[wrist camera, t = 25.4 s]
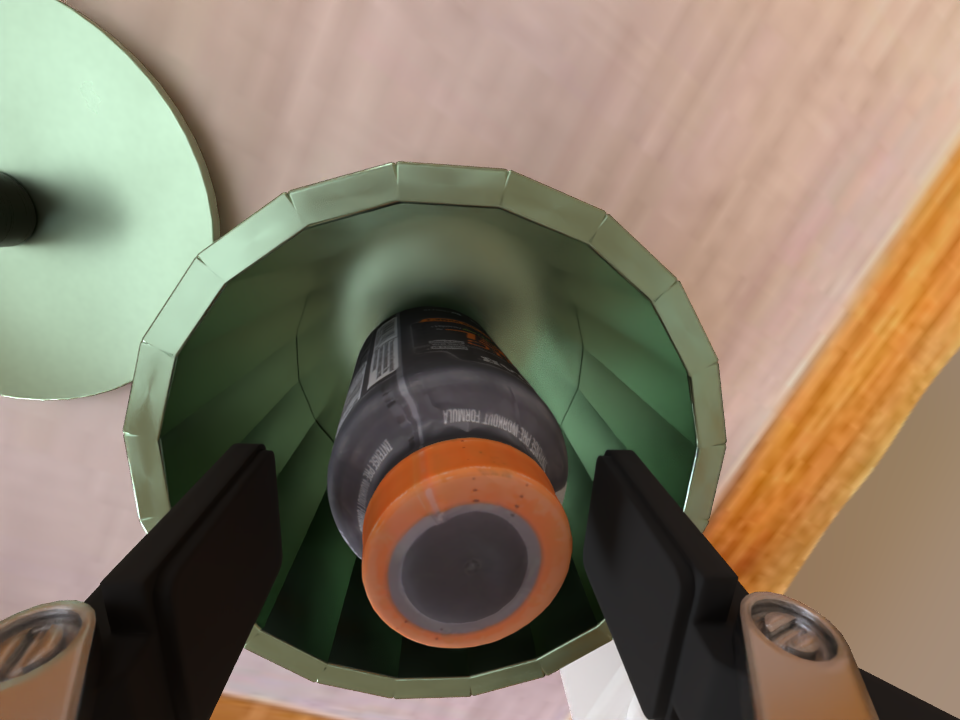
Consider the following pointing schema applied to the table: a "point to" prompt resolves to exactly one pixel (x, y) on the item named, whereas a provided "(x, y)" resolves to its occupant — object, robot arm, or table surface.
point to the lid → (87, 203)
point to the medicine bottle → (600, 687)
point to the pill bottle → (449, 482)
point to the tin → (330, 366)
